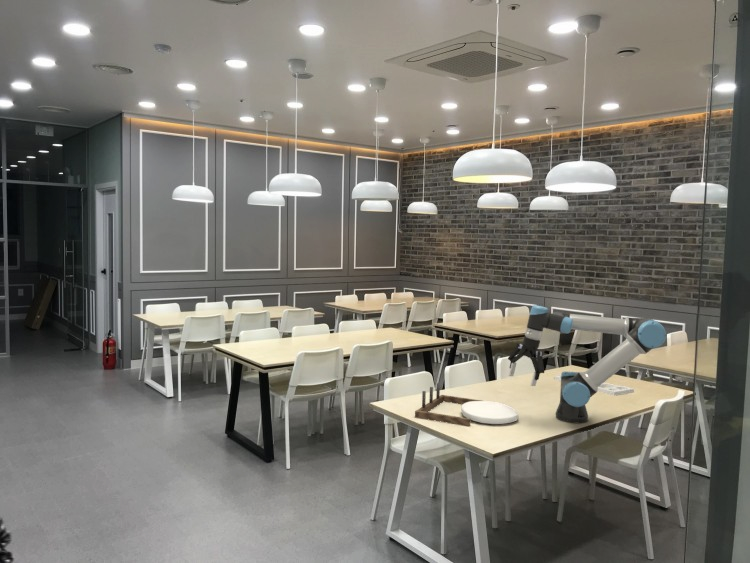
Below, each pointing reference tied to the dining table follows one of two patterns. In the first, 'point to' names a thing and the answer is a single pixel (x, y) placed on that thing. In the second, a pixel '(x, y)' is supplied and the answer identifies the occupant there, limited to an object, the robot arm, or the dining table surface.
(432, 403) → the plate rack
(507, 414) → the plate
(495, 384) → the dining table surface
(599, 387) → the holder
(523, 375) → the dining table surface
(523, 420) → the dining table surface
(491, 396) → the dining table surface
